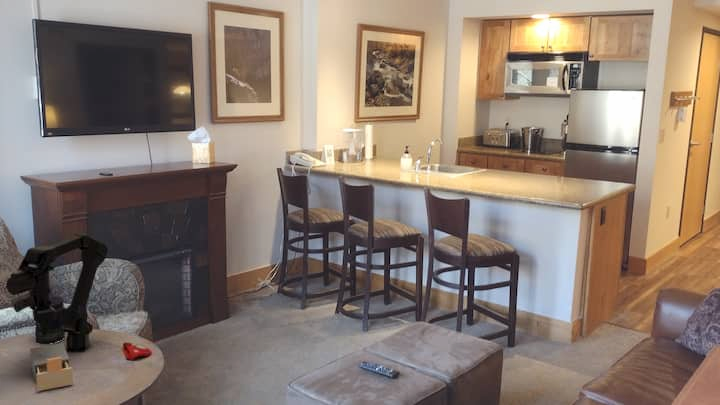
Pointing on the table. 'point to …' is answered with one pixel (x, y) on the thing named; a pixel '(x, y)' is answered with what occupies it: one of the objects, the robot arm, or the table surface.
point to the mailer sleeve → (47, 355)
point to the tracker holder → (135, 350)
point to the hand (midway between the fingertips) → (42, 330)
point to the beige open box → (53, 374)
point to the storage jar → (52, 325)
